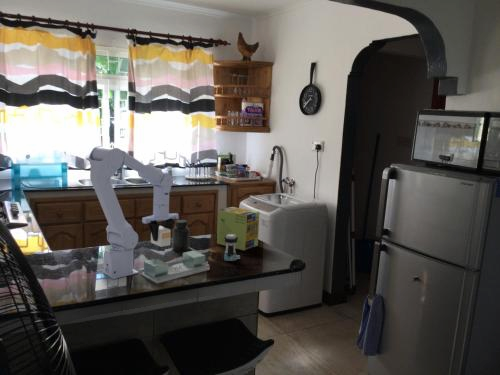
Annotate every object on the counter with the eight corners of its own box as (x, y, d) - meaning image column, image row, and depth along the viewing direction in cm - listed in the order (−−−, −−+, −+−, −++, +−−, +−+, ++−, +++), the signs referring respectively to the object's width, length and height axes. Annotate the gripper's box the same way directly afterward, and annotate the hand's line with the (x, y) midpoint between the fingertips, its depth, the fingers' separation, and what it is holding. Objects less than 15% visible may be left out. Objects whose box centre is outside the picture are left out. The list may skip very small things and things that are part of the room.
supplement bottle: (182, 245, 179) (183, 218, 177) (192, 249, 174) (193, 221, 172) (169, 248, 175) (169, 220, 173) (178, 252, 170) (178, 223, 168)
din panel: (156, 283, 136) (157, 269, 136) (139, 274, 144) (139, 260, 143) (209, 269, 152) (209, 256, 151) (191, 261, 159) (191, 249, 159)
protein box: (245, 251, 176) (247, 215, 174) (216, 243, 185) (217, 209, 182) (258, 245, 185) (260, 211, 183) (230, 239, 193) (231, 206, 191)
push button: (238, 257, 167) (239, 233, 166) (241, 261, 162) (242, 236, 161) (222, 258, 166) (223, 233, 164) (224, 262, 160) (225, 237, 159)
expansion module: (161, 247, 153) (161, 231, 152) (150, 242, 158) (151, 227, 158) (170, 245, 156) (170, 229, 155) (159, 240, 161) (160, 225, 160)
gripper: (149, 208, 147) (149, 245, 149) (183, 204, 157) (182, 239, 159) (139, 204, 152) (139, 240, 154) (172, 201, 162) (172, 234, 164)
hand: (160, 239), depth 157 cm, fingers closed on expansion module, 4 cm apart
